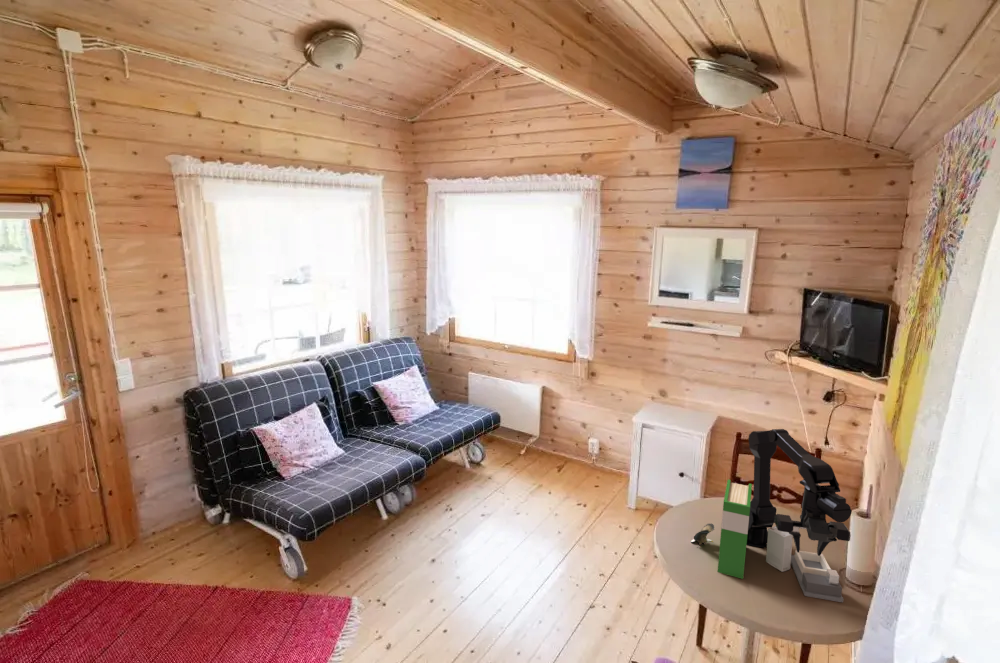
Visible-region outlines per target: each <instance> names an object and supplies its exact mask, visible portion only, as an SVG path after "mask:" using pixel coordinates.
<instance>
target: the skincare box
mask: <svg viewBox="0 0 1000 663" xmlns="http://www.w3.org/2000/svg"><path fill="white" fill-rule="evenodd" d="M767 530H768V540H767V544H766V545H767V548H766V555H765V562H766V563H768V564H769V565H770V566H772V567H773V568H775V569H777V570H779V571H780V572H786V571H789V570H790V569H791V565H792V564H791V555H792V552H793V551H792V548H793V540H794V539H793V535H790V534H789V532H783V531H779V530H778V529H777V527H776V525H775V526H772V528H770V527H769V528H767Z"/></svg>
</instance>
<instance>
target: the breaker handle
mask: <svg viewBox="0 0 1000 663" xmlns="http://www.w3.org/2000/svg"><path fill="white" fill-rule="evenodd" d="M826 579H827V581H828V583H829V584H835V585H838V583H840V582H839V581H840V575H839V573H838V571H837V570H836V569H832V568H831V569H827V572H826Z"/></svg>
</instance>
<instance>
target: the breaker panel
mask: <svg viewBox="0 0 1000 663" xmlns="http://www.w3.org/2000/svg"><path fill="white" fill-rule="evenodd" d="M790 565H791V566H792V569H793V572H794V574H795V577H796V579H797V581H798V584H799V586H800V589H801V591H802V593H803V596H804V597H808V598H809V597H810V598H816V599H820V600H826V601H833V602H839V603H844V597H843V596H842V592H843V587H842V585H841V583H840V582H839V583H838V585H835V584H829V583H828V581H827V579H826V572H827V569H831V570H832V568H831V567H830V565H829V563H828V562H827V560H826V558H825V555H824V554H823V553H821V555H820V556H818V554H817V552H811V551H805V550H799V553H798V552H797V550H796V549H795V550H794V554H791V564H790Z"/></svg>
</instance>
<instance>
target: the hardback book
mask: <svg viewBox="0 0 1000 663" xmlns="http://www.w3.org/2000/svg"><path fill="white" fill-rule="evenodd" d="M726 482H727V483H726V487H725V491H724V496H723V497H724V499H723V504H722V516H721V517H722V518H721V519H722V520H721V528H720V539H719V552H718V561H717V562H718V563H717V573H720V574H723V575H726V576H731V577H735V578H737V579H742V580H744V574H745V562H746V554H747V545H746V544H747V534H748V524H749V514H750V502H751V500H752V486H753V484H752V483H748V485H745V484H741V483H736V482H731V479H728V478H727V480H726Z"/></svg>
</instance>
